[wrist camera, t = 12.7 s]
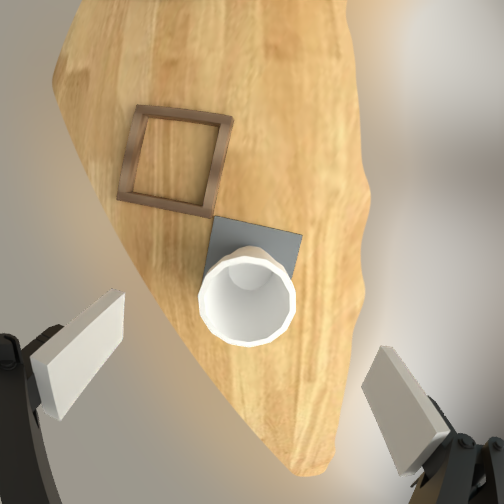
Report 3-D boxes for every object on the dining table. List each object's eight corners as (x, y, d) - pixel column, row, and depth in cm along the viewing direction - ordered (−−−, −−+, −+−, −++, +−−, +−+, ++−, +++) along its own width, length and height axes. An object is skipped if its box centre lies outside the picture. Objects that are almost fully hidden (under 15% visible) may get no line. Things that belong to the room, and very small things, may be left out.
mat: (215, 215, 40) (214, 216, 39) (302, 235, 40) (302, 235, 39) (199, 297, 42) (199, 298, 42) (280, 315, 42) (281, 316, 42)
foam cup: (227, 306, 42) (215, 354, 29) (207, 245, 40) (184, 271, 27) (292, 290, 41) (305, 333, 28) (275, 226, 39) (283, 244, 27)
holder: (143, 108, 36) (136, 104, 34) (234, 120, 37) (232, 116, 34) (124, 198, 39) (116, 199, 37) (212, 216, 40) (209, 218, 37)
